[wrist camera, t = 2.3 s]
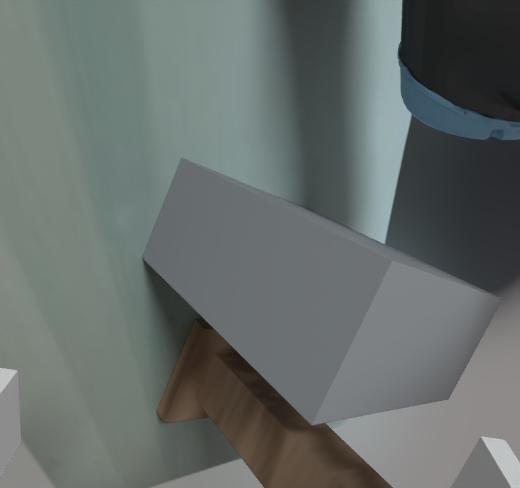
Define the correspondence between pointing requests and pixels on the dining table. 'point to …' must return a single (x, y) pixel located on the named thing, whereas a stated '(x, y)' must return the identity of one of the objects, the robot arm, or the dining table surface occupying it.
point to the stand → (258, 419)
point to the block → (315, 299)
